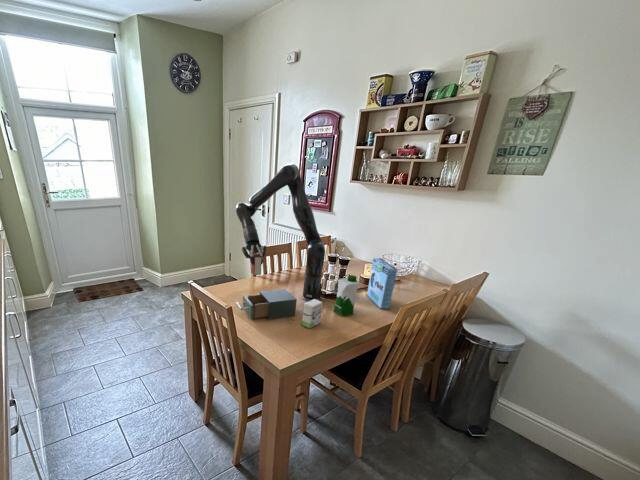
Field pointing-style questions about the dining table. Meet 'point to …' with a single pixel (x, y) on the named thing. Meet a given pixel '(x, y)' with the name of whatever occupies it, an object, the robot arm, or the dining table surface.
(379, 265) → the light blue box
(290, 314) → the cabinet
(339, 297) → the milk carton
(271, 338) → the dining table surface
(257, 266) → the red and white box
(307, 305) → the ink box
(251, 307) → the drawer
